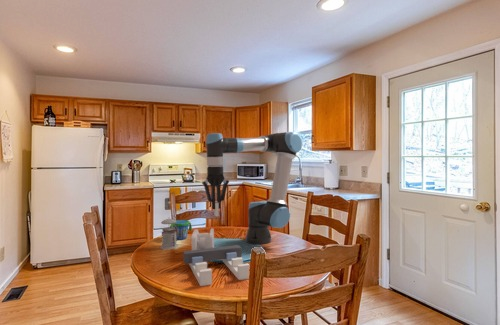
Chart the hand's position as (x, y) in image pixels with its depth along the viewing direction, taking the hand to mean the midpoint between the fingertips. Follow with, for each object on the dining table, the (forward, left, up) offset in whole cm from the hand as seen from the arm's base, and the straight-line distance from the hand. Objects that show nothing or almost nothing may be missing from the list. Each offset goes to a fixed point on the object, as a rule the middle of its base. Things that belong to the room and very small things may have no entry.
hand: (216, 215), depth 142 cm
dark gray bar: (+3, +5, -19) cm, 20 cm away
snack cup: (+10, -46, -22) cm, 52 cm away
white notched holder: (+3, +13, -21) cm, 25 cm away
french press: (+18, -30, -22) cm, 41 cm away
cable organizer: (+4, -12, -22) cm, 25 cm away
